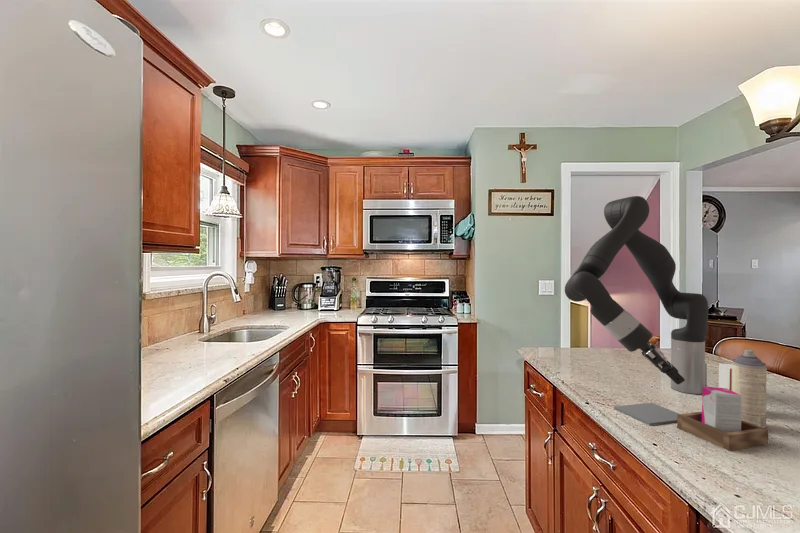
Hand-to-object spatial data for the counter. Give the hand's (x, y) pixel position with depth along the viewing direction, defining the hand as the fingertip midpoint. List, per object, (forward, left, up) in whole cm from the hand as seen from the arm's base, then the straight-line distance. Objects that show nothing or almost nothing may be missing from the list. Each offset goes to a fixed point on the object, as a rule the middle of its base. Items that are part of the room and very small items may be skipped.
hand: (678, 377), depth 97 cm
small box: (-29, -5, -14) cm, 33 cm away
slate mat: (-1, -9, -13) cm, 16 cm away
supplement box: (-6, +6, -14) cm, 16 cm away
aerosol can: (-20, +3, -13) cm, 25 cm away
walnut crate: (-6, +6, -13) cm, 16 cm away
